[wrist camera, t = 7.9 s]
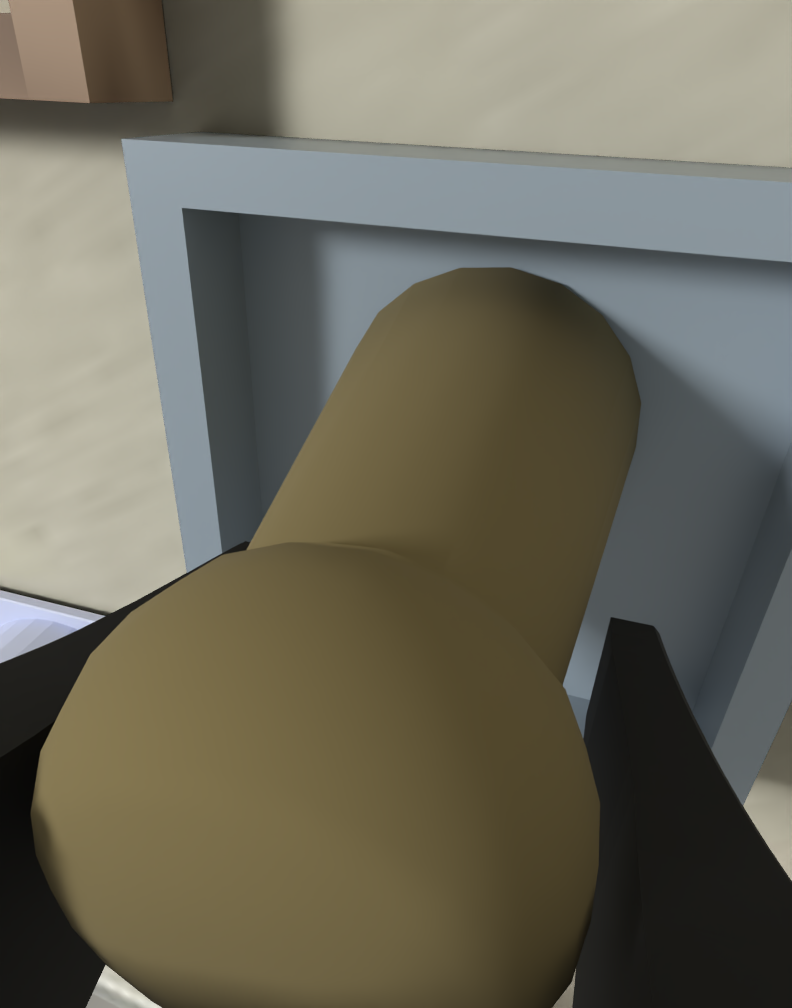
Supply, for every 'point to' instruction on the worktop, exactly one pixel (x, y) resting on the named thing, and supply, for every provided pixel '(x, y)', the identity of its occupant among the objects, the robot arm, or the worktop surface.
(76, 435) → the worktop surface
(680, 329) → the parts tray
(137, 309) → the worktop surface
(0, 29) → the frame
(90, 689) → the cork
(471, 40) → the worktop surface
